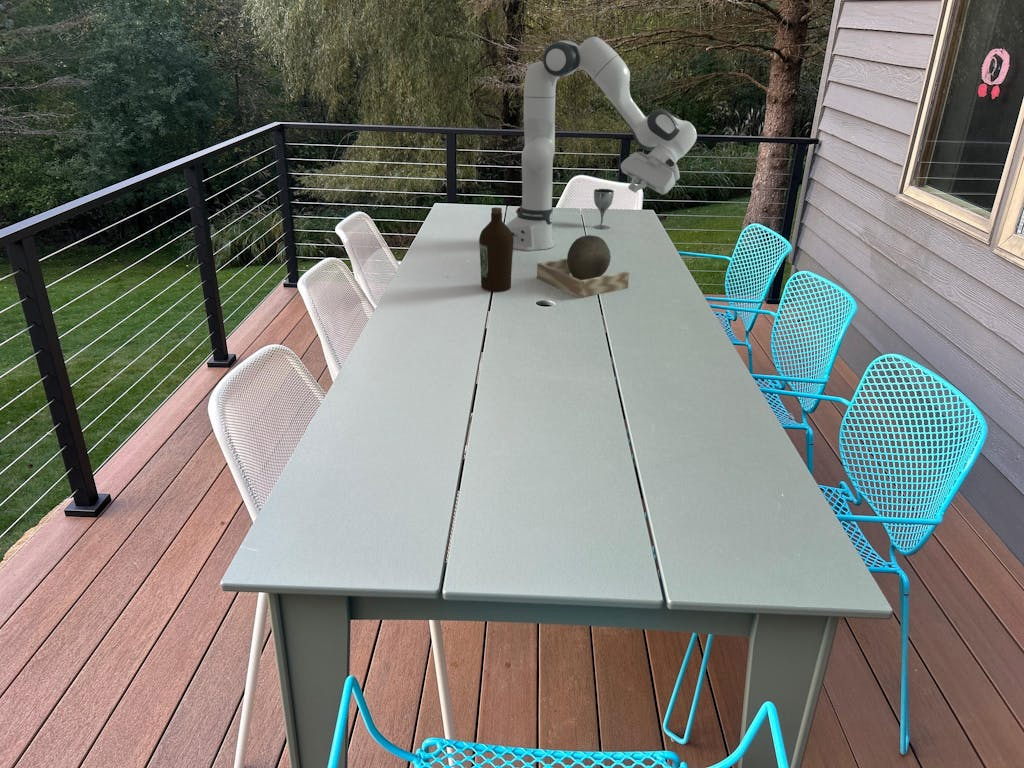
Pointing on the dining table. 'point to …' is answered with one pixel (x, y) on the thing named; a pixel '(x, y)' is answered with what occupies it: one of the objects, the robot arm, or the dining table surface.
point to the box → (559, 278)
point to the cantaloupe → (588, 257)
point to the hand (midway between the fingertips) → (631, 189)
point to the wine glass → (603, 203)
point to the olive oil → (496, 254)
